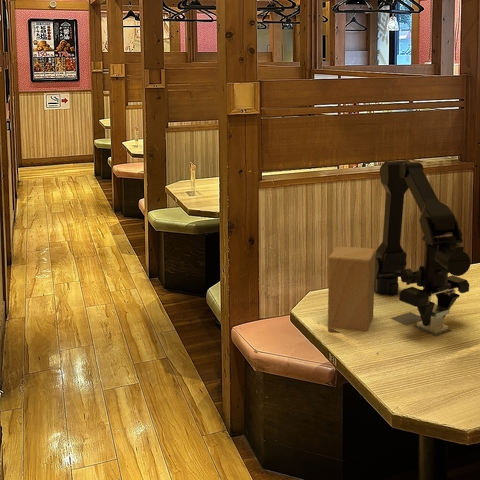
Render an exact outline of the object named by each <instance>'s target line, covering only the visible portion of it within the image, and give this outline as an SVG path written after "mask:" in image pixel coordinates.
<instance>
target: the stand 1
mask: <svg viewBox="0 0 480 480" xmlns="http://www.w3.org/2000/svg"><path fill="white" fill-rule="evenodd" d="M390 320H393V321H396V322H398V323H400V324H401V325H404V326H410V325H413V324H417V322H421V321H422V319H421V316H420V314H416V313H414V312H412V311H409V312H405V313H402V314H400V315H396V316H392V317H390Z"/></svg>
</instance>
